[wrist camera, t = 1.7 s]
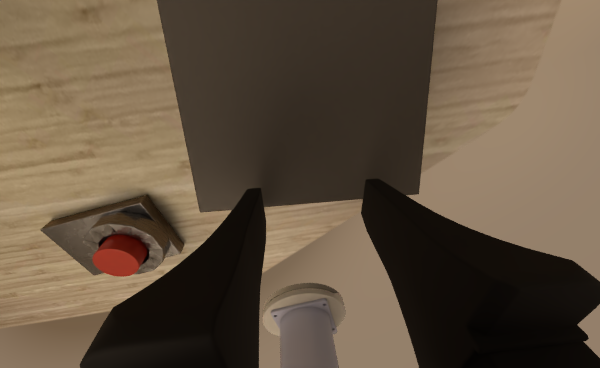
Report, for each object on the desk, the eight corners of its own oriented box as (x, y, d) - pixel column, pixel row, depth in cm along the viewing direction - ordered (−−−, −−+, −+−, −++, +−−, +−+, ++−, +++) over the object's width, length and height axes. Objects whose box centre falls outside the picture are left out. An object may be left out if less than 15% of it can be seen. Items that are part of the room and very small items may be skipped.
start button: (132, 229, 21) (121, 244, 20) (155, 256, 23) (147, 271, 22) (95, 239, 21) (82, 254, 20) (121, 264, 23) (110, 280, 22)
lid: (411, 189, 14) (419, 194, 13) (204, 206, 13) (199, 212, 12) (433, -64, 10) (445, -78, 9) (153, -56, 10) (141, -71, 9)
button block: (149, 193, 22) (133, 214, 20) (186, 244, 26) (177, 266, 24) (50, 220, 23) (23, 243, 20) (101, 265, 27) (82, 290, 24)
